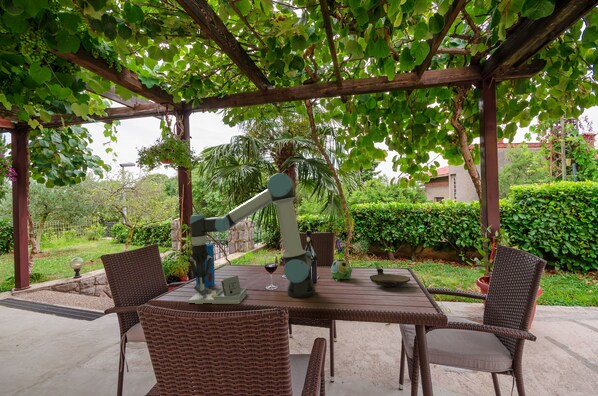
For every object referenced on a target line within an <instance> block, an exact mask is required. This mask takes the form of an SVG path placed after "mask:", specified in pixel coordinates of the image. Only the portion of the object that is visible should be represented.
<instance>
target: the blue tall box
mask: <svg viewBox="0 0 598 396" xmlns="http://www.w3.org/2000/svg"><path fill="white" fill-rule="evenodd" d="M206 244H207V253H208V255H209V256H210V257H213V259H212V261H211V265H210V270H209V275H207V276H206V277H205V280H206V282H205V283H204V287H206V288H209V289H211V288H213V287H214V286H215V281H216V280H215V277H216V276H215V275H216V274H215V248H214V244H213V243H206ZM207 261H208V260H207V259H206V261H205V271H206V265H207ZM195 266H196V265H195ZM196 269H197V266H196ZM197 284H198V285H200V284H199V283H198V277H195V286H196V285H197Z"/></svg>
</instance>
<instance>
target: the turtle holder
mask: <svg viewBox="0 0 598 396" xmlns="http://www.w3.org/2000/svg"><path fill="white" fill-rule="evenodd" d="M331 264H332V265H331V268H330V272H331V273H330V275H331V278H332V279H334V281H335V280H337V281H336V282H339V281H340V279H341V280H345V279H346V280H349V279H351V278H352V272H353V269H352V267H351V265H350V263H349V262H348V261H347V260H346V259H343V258H339V259H335V260H334V261H333V262H332V263H331ZM351 280H352V279H351Z"/></svg>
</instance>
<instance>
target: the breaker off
mask: <svg viewBox="0 0 598 396" xmlns="http://www.w3.org/2000/svg"><path fill="white" fill-rule="evenodd" d="M199 286H200V285H199ZM204 291H205V292H206V293H211V292H212V291H213V289H211V288H206V287H204Z"/></svg>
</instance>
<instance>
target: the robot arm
mask: <svg viewBox="0 0 598 396" xmlns="http://www.w3.org/2000/svg"><path fill="white" fill-rule="evenodd" d="M266 185H267V187H266V188H267V189H265V190H264V191H262V192H260V193H258V194H257V195H255V196H253V197H252V198H251V199H249V200H247V201H246V202H244V203H242V204H241V205H239V206H237V207H235V208H234V209H232V210H231V211H229V212H228V213H226V214H224V215H222V216H215V217H206V214H205V213H203V214H192V215H190V218H189V226H190V238H191V239H190V240H191V241H190V242H191V252H192V253H191V256H190V257H189V258H187V262H188V263H189V266H190V268H191V271H192V274H193V277H195V278H196V277H198V283H199V284H200V289H201V291H202V290H204V283H205V282H206V280H205V277H206V276H207V275H209V270H210V265H211V261H212V259H213V257H210V256H209V255H208V253H207V244H208V241H207V233H222V232H227V231H228V230H229V229H231V228H233V227H234V226H236V225H237V224H238V223H240V222H242V221H243V220H245V219H247V218H248V217H250V216H252V215H253V214H255V213H257V212H259V211H260V210H262V209H264V208H265V207H267V206H269V205H271V204H274V205H275V206H276V208H275V209H276V212H277V216H278V222H279V226H280V227H279V228H280V232H281V236H282V237H281V238H282V242H283V248H284V251H285V252H284V254H283V255H282V259H283V263H284V267H283V273H284V277H285V278H286V279H287V280H288V281H289V283H288V287H287V291H286V293H287V295H288V296H289V297H292V298H302V299H303V298H308V297H312V296H314V295H315V294H316V287H315V284H314V281H313V278H312V276H313V275H312V253H311V250H304V249H303V247H302V246H303V245H302V241H301V236H300V231H299V226H298V221H297V217H296V215H297V214H296V210H295V206H294V200H295V199H296V196H295V191H294V190H295V189H296V188H295V187H296V186H295V185H296V184H295V182H294V179H293V178H292V177H291V176H289V175H287V174H286V173H284V172H277V173H274V174H273V175H271V176H270V177H269V178H268V180H267V184H266ZM206 259H207V260H208V261H207V265H206V271H205V261H206ZM196 266H197V269H196Z"/></svg>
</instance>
